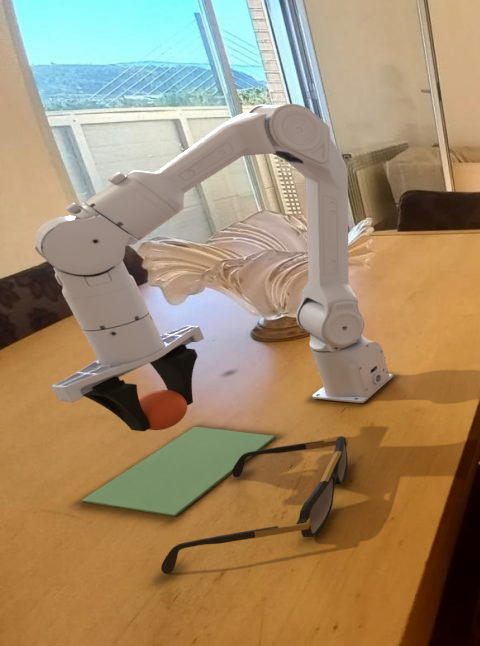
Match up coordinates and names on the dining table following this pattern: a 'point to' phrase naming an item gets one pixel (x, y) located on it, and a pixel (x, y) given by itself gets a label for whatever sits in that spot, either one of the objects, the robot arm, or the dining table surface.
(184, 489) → the cloth
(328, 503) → the sunglasses
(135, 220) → the robot arm
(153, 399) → the egg
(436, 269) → the dining table surface
